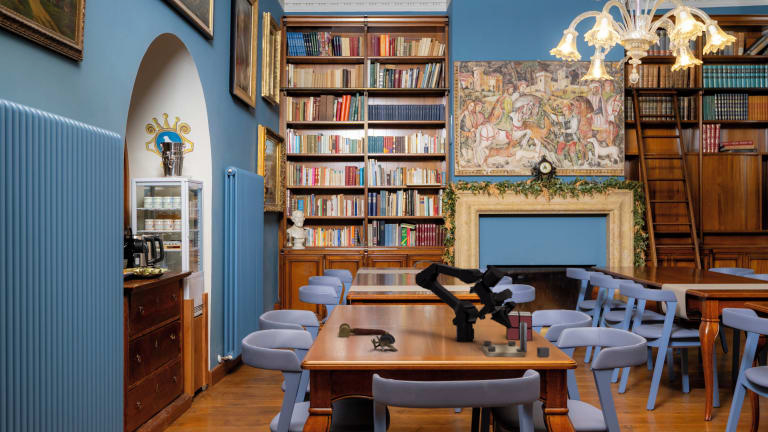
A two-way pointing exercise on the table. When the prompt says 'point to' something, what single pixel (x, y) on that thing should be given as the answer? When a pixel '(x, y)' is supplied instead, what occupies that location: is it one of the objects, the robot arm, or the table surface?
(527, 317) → the puzzle cube
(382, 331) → the gavel
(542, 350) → the corner bracket
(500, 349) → the stool seat
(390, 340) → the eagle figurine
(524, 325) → the folding leg
